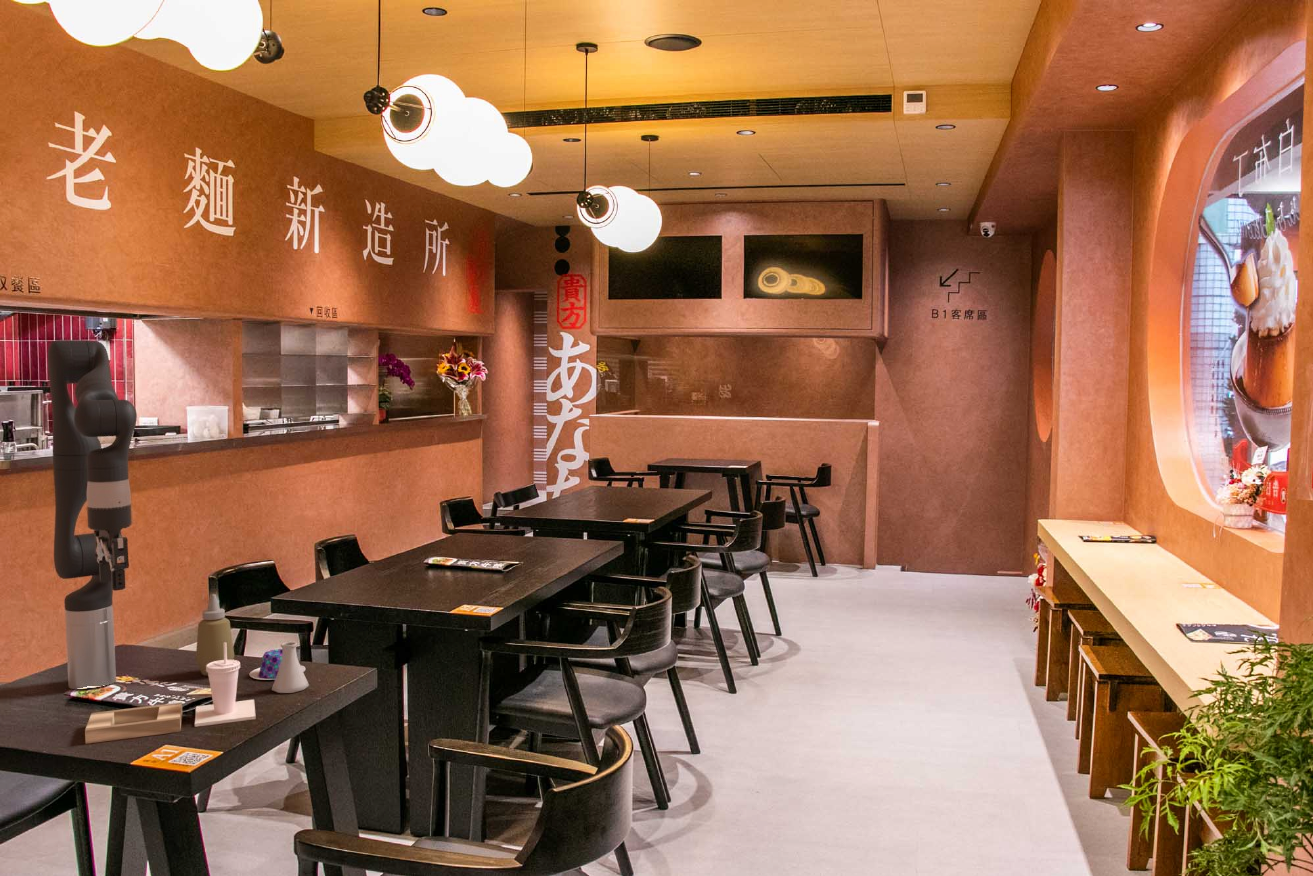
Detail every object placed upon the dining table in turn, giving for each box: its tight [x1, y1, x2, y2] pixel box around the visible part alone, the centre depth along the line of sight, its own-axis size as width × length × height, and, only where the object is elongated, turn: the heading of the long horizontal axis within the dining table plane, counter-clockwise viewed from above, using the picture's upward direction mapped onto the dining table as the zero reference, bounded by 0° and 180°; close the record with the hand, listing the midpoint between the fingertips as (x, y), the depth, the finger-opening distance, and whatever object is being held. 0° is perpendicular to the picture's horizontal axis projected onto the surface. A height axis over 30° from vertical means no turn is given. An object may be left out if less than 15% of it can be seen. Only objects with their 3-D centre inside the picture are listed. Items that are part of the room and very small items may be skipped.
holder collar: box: [84, 701, 183, 744], centre depth 200 cm, size 10×16×2 cm, turn 113°
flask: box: [271, 641, 310, 694], centre depth 224 cm, size 7×7×10 cm
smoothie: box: [206, 642, 241, 714], centre depth 208 cm, size 6×6×14 cm
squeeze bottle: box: [195, 593, 235, 677], centre depth 236 cm, size 8×8×18 cm
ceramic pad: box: [194, 699, 257, 728], centre depth 208 cm, size 11×11×1 cm
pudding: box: [248, 648, 306, 681], centre depth 235 cm, size 12×12×5 cm
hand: (112, 585), depth 202 cm, fingers open, 8 cm apart
